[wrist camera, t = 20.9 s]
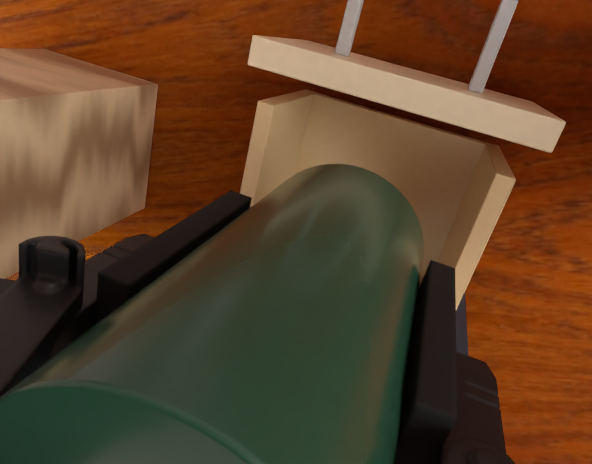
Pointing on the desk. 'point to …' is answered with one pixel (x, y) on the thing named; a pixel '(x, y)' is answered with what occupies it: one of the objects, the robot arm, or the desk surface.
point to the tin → (246, 343)
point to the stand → (69, 147)
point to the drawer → (398, 135)
